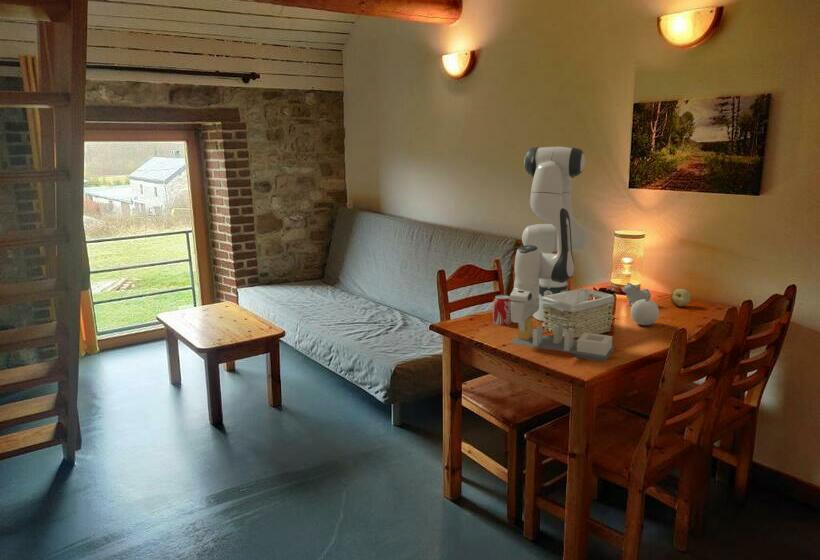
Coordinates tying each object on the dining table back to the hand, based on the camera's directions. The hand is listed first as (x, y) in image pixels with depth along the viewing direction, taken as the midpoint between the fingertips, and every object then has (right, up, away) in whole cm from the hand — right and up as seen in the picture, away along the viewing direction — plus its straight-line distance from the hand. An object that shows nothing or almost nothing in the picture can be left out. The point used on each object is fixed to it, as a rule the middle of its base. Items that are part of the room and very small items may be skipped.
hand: (525, 328), depth 218 cm
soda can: (-5, -1, +21) cm, 22 cm away
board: (+11, -6, -6) cm, 14 cm away
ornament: (+51, 0, +20) cm, 54 cm away
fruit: (+76, +6, +46) cm, 89 cm away
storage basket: (+22, -3, +11) cm, 25 cm away
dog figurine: (+58, +6, +47) cm, 75 cm away
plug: (-1, -3, +2) cm, 4 cm away
